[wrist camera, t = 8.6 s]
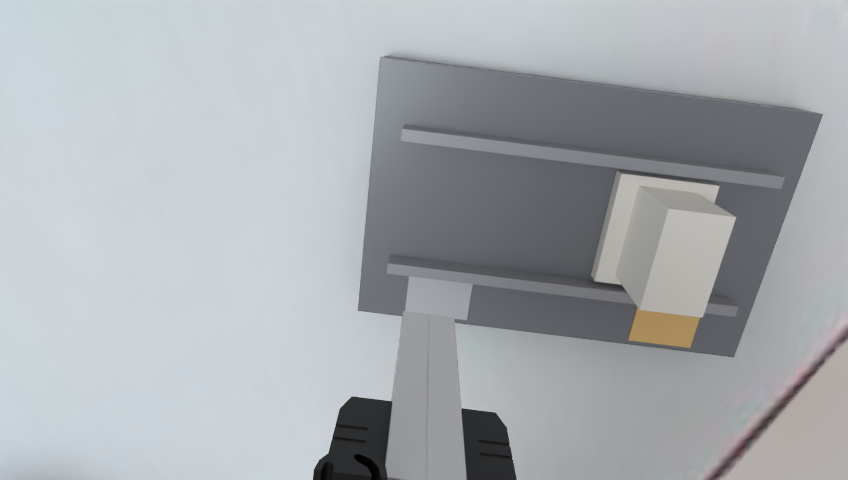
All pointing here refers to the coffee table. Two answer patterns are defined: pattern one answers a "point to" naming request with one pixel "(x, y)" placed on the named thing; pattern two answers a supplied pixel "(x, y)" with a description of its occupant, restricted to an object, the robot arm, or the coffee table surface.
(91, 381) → the coffee table surface
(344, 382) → the coffee table surface
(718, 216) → the switch tab
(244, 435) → the coffee table surface
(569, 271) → the switch panel
